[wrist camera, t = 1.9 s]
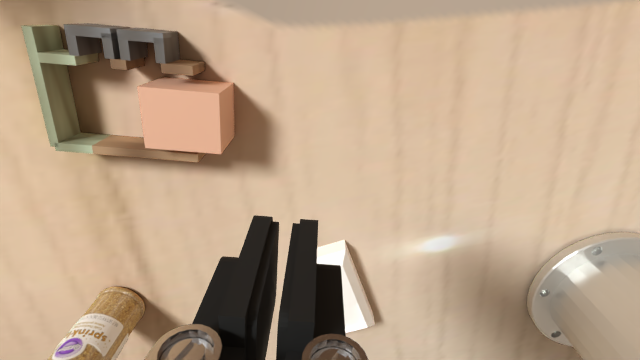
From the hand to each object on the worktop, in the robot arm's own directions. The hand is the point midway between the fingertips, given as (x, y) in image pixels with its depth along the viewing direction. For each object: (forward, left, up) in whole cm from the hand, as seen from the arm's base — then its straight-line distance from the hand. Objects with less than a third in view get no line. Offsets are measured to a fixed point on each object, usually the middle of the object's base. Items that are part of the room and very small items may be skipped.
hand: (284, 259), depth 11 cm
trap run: (+12, 0, -17) cm, 21 cm away
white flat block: (-4, +16, -18) cm, 24 cm away
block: (+8, 0, -17) cm, 19 cm away
